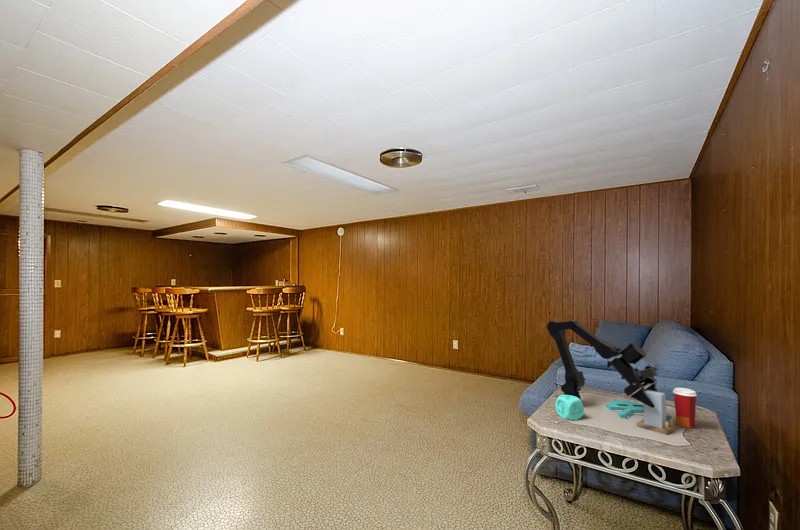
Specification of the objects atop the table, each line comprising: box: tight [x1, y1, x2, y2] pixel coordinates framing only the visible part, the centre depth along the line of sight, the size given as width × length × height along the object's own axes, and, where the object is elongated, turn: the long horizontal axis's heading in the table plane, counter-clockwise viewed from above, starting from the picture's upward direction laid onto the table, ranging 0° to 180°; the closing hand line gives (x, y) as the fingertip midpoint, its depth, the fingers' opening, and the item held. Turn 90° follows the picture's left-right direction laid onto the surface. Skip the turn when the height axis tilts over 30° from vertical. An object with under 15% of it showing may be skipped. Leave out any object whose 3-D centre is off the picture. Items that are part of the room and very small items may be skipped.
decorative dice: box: [554, 394, 585, 421], centre depth 152 cm, size 8×8×8 cm
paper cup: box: [672, 387, 698, 429], centre depth 144 cm, size 8×8×14 cm
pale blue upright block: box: [643, 390, 667, 429], centre depth 141 cm, size 6×4×12 cm
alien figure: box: [605, 399, 673, 420], centre depth 160 cm, size 20×2×20 cm
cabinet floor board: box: [636, 418, 675, 435], centre depth 141 cm, size 10×8×4 cm
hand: (658, 404), depth 140 cm, fingers open, 9 cm apart
